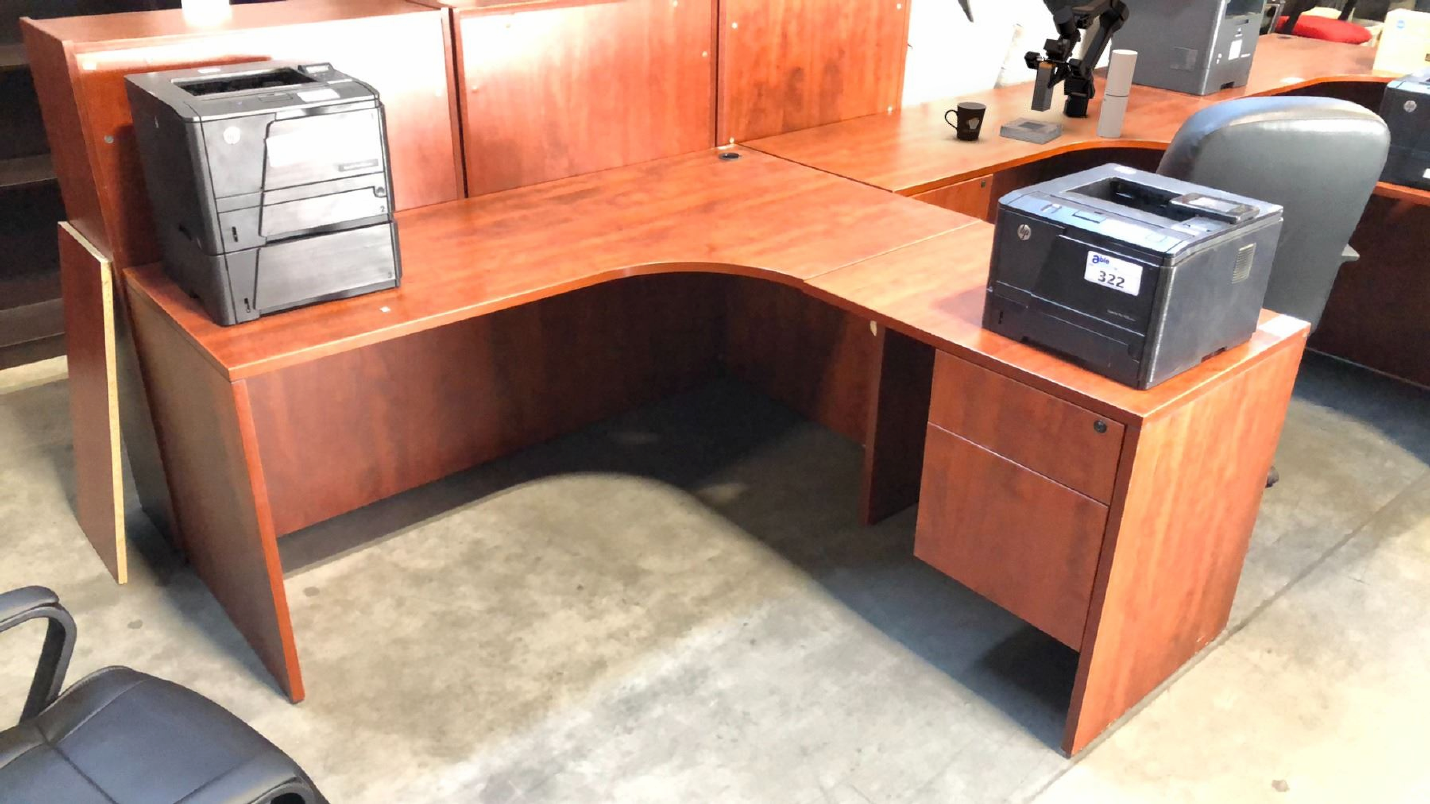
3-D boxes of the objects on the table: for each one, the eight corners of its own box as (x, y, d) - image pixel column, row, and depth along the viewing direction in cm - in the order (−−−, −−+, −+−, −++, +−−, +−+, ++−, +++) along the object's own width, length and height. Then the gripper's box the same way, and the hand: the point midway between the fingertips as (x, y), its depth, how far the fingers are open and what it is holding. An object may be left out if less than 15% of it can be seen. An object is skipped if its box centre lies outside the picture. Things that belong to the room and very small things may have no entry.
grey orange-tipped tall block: (1038, 106, 329) (1045, 61, 322) (1050, 109, 326) (1057, 63, 319) (1030, 109, 326) (1038, 63, 319) (1042, 111, 323) (1050, 65, 316)
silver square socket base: (1019, 126, 331) (1020, 117, 330) (1061, 135, 324) (1062, 125, 322) (999, 135, 322) (1000, 125, 320) (1041, 144, 314) (1043, 134, 313)
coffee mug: (983, 136, 321) (988, 103, 316) (979, 143, 314) (984, 110, 309) (945, 132, 324) (949, 99, 319) (941, 139, 317) (945, 106, 312)
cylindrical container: (1108, 139, 321) (1125, 55, 308) (1091, 133, 326) (1107, 50, 314) (1125, 136, 324) (1142, 53, 311) (1108, 130, 329) (1124, 48, 317)
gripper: (1031, 24, 322) (1008, 66, 321) (1088, 32, 311) (1064, 76, 310) (1039, 46, 331) (1017, 87, 329) (1095, 55, 320) (1072, 98, 319)
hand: (1042, 87), depth 322 cm, fingers closed on grey orange-tipped tall block, 4 cm apart
